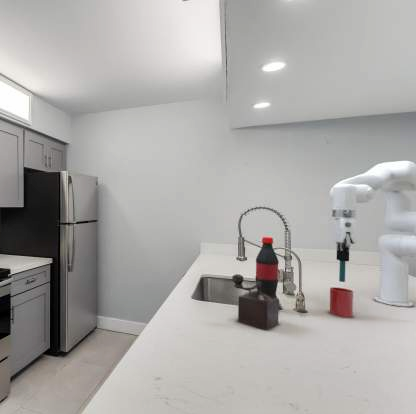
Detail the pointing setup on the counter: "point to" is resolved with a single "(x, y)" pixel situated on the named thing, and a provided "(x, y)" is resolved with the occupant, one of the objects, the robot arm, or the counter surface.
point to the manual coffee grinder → (256, 306)
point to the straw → (342, 271)
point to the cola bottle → (267, 268)
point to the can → (341, 302)
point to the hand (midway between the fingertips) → (342, 260)
